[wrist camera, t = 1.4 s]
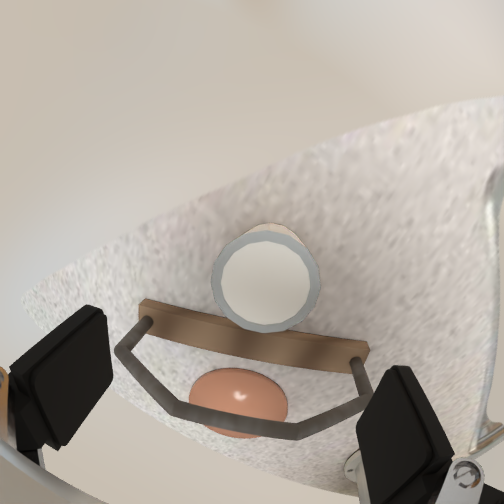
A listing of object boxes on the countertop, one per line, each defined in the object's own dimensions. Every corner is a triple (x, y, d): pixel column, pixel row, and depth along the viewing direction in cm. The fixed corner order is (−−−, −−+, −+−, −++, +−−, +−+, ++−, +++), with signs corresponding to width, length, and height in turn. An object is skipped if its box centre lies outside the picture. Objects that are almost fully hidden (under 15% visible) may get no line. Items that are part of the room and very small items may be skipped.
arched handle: (366, 341, 25) (402, 427, 14) (356, 365, 26) (383, 452, 15) (145, 298, 27) (77, 363, 15) (144, 324, 27) (84, 393, 16)
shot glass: (268, 308, 26) (262, 351, 19) (213, 253, 25) (188, 281, 18) (327, 258, 24) (343, 288, 17) (271, 198, 23) (267, 206, 16)
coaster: (305, 413, 28) (306, 418, 28) (232, 442, 31) (230, 446, 30) (246, 351, 27) (245, 356, 26) (172, 390, 29) (169, 394, 29)
